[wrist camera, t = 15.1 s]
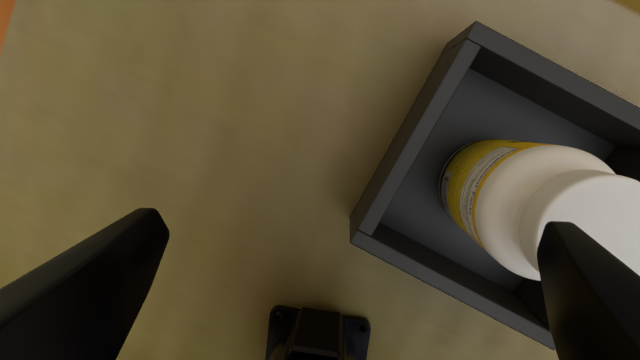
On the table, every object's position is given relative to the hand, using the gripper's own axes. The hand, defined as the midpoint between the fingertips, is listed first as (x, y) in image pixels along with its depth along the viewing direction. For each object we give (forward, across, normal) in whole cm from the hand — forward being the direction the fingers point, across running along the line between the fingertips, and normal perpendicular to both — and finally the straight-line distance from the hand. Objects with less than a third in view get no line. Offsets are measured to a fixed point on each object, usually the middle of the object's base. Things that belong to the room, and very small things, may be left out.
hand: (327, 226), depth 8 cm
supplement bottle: (+12, -6, +8) cm, 16 cm away
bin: (+12, -6, +8) cm, 16 cm away
